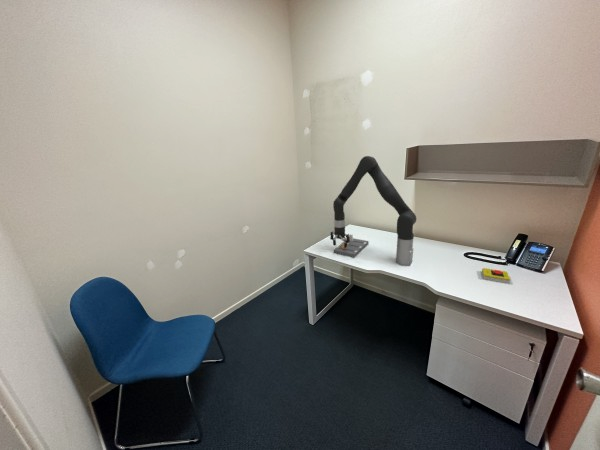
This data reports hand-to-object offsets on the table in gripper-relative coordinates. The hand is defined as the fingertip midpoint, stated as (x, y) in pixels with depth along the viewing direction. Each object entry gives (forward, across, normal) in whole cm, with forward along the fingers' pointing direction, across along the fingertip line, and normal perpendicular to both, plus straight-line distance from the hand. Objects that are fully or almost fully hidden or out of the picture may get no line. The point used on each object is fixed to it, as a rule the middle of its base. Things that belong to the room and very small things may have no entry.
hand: (340, 246), depth 181 cm
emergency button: (+5, -90, -9) cm, 90 cm away
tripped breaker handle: (+1, -3, 0) cm, 3 cm away
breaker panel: (+4, -5, -8) cm, 10 cm away
